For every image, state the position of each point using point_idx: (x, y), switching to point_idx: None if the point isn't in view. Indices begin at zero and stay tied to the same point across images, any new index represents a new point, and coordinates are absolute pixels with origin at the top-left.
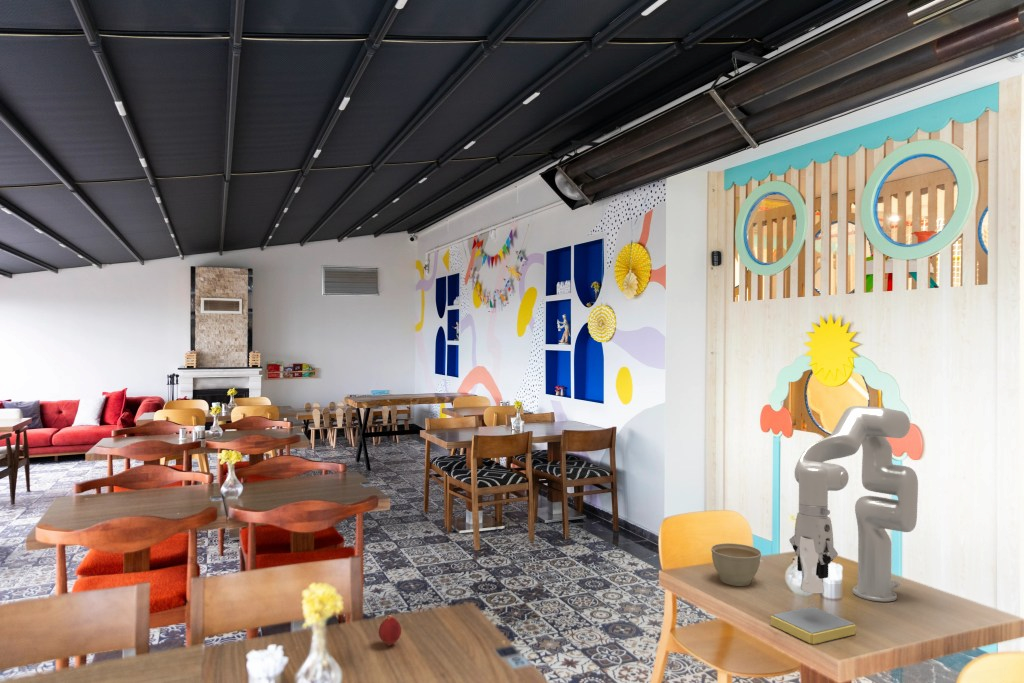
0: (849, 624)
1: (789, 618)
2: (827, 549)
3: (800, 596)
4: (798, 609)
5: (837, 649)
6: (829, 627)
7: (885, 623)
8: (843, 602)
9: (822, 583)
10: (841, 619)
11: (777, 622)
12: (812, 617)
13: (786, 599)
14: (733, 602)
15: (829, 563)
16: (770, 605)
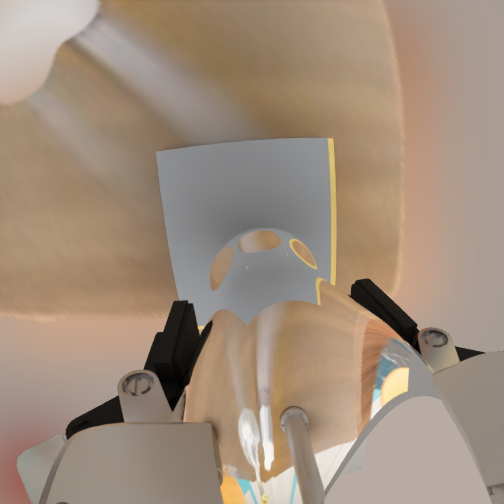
0: (329, 158)
1: None
2: (468, 382)
3: (41, 92)
4: (165, 222)
5: (364, 259)
6: (323, 237)
7: (281, 4)
8: (118, 5)
9: (318, 272)
10: (287, 146)
11: None
12: (239, 227)
13: (43, 144)
14: (44, 297)
15: (435, 334)
16: (65, 219)
